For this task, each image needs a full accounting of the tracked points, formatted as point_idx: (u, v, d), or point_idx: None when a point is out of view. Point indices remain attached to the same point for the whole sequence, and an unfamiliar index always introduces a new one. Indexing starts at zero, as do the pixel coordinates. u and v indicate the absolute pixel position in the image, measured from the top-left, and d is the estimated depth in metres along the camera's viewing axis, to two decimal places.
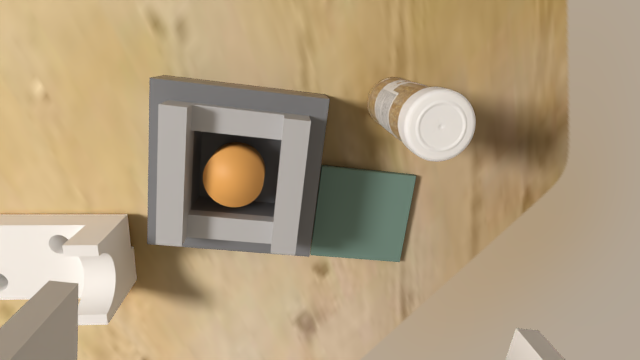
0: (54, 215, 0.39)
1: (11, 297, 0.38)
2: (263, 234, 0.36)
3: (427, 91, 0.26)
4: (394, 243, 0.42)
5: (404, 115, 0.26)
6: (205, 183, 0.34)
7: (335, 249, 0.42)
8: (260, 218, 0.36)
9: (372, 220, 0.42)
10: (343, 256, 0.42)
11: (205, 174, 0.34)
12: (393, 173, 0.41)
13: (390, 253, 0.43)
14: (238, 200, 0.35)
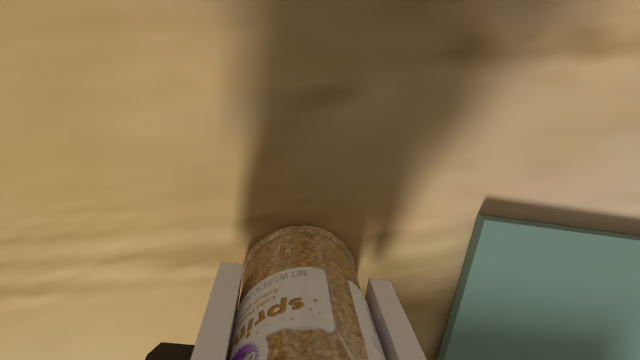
0: None
1: None
2: None
3: None
4: None
5: None
6: None
7: None
8: None
9: (572, 312, 0.18)
10: None
11: None
12: (468, 268, 0.17)
13: None
14: None
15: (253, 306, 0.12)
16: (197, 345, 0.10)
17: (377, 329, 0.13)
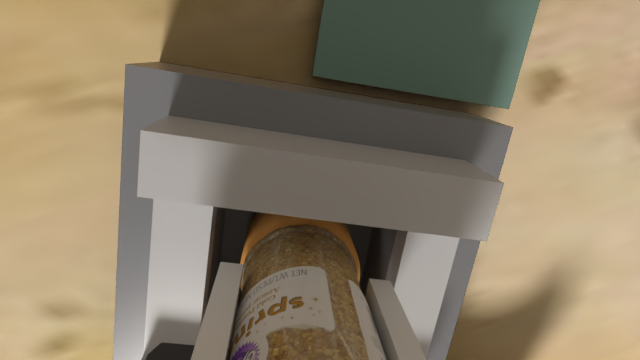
0: None
1: None
2: (438, 235, 0.16)
3: None
4: None
5: None
6: None
7: (507, 53, 0.19)
8: (401, 235, 0.16)
9: None
10: (527, 33, 0.18)
11: None
12: None
13: None
14: None
15: (253, 305, 0.12)
16: (197, 345, 0.10)
17: (377, 329, 0.13)
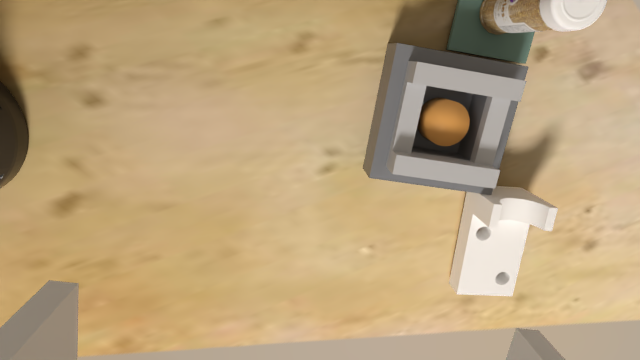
0: (459, 235, 0.52)
1: (516, 272, 0.52)
2: (501, 105, 0.44)
3: (549, 10, 0.33)
4: None
5: (564, 29, 0.34)
6: (447, 144, 0.46)
7: (525, 40, 0.47)
8: (487, 106, 0.44)
9: None
10: (533, 32, 0.46)
11: (440, 143, 0.45)
12: None
13: None
14: (464, 121, 0.45)
15: None
16: None
17: None
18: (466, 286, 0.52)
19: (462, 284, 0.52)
